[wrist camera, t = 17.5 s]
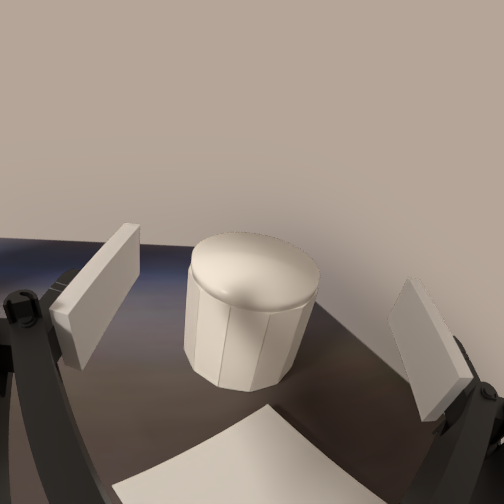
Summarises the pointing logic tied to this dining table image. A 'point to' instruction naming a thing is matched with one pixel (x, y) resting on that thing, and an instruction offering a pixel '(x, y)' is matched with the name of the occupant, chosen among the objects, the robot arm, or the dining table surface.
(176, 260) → the dining table surface
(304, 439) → the white mat
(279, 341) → the white container
